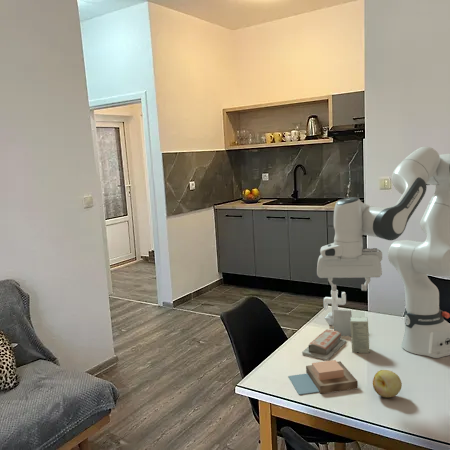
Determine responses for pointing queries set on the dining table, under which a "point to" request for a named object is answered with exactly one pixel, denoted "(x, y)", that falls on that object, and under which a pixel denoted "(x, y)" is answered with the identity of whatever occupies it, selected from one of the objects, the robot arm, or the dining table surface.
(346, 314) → the grey block
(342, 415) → the dining table surface
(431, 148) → the robot arm
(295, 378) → the slate mat
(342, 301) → the figurine
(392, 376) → the fruit
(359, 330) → the skincare box
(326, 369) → the terracotta tile
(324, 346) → the packaged product
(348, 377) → the walnut stand
